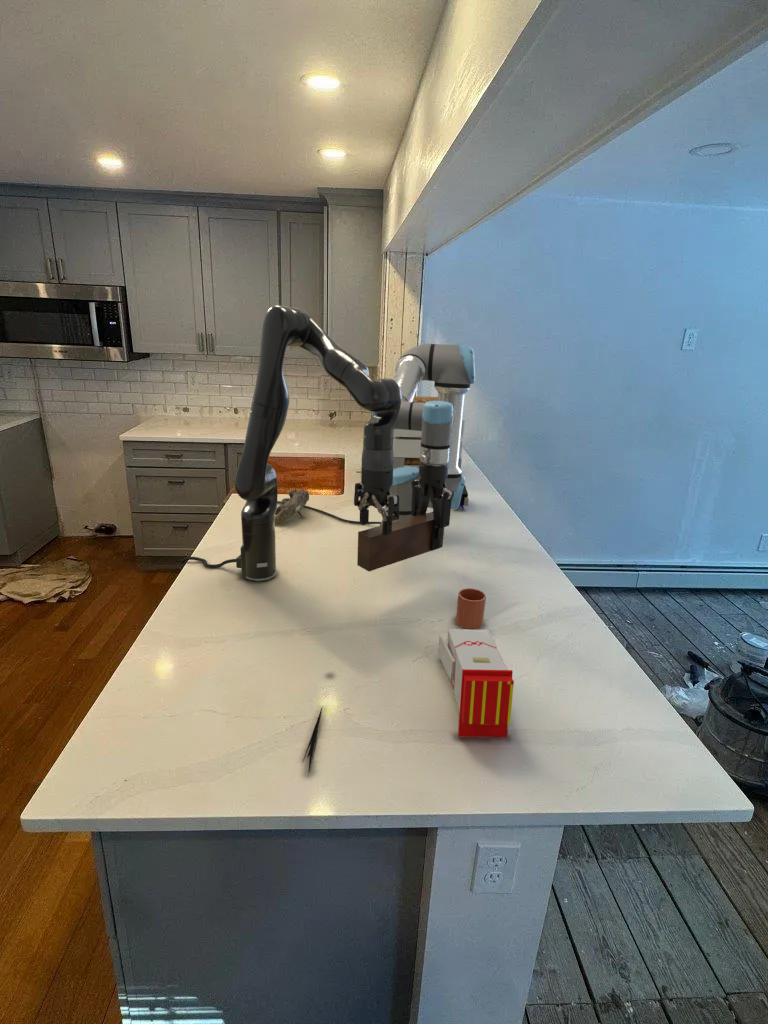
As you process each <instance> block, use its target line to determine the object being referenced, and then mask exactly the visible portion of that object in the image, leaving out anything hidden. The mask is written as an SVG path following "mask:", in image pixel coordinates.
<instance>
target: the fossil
mask: <svg viewBox="0 0 768 1024" xmlns="http://www.w3.org/2000/svg"><path fill="white" fill-rule="evenodd" d="M288 496H289V497H287V498H286V497H285V498H282V499H281V503H282V504H280V505H277V509H276V512H275V525H278V526H279V525H282V524H284V523H287V522H288V521H289V520H291V519H292V518H294V516H296V515H297V514H298V515H299V516H300V517H301V518H302V517H303V515H302V513H301V512H300V511H301V510H302V508H304V506H307V503H308V502H309V500H310V494H309V492H308V490H305V488H300V489H299V490H298V489H296V488H295V489H290V490H289V492H288Z"/></svg>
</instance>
